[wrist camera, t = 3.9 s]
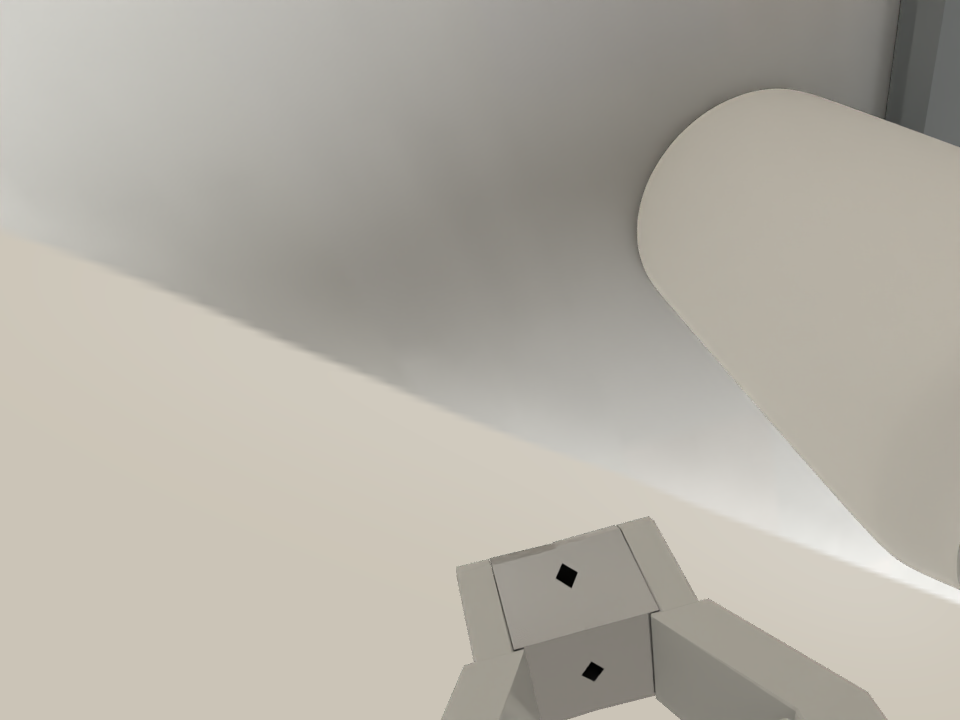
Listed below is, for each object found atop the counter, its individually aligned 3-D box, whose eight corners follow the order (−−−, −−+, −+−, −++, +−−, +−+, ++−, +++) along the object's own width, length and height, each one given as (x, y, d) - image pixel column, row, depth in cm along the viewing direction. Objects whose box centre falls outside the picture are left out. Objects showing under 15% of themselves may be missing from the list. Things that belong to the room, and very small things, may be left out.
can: (774, 330, 23) (1131, 665, 12) (592, 280, 20) (846, 633, 10) (897, 128, 20) (1491, 353, 10) (700, 46, 18) (1194, 222, 8)
